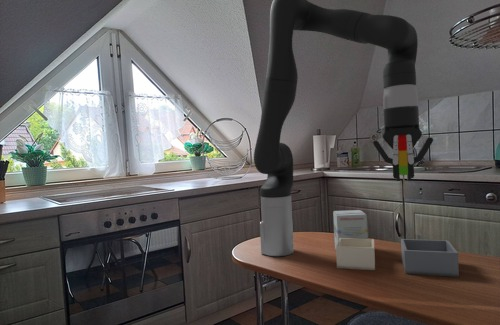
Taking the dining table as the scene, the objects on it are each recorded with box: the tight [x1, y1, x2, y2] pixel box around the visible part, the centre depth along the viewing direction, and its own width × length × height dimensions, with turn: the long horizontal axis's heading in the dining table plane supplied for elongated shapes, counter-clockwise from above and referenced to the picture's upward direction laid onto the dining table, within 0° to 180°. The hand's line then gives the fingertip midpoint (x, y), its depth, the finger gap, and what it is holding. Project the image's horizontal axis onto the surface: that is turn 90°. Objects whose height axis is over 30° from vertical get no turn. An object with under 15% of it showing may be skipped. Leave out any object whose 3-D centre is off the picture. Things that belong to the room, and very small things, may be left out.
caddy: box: [400, 238, 460, 278], centre depth 88 cm, size 11×11×6 cm
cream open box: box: [335, 238, 376, 271], centre depth 93 cm, size 9×9×6 cm
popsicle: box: [398, 135, 408, 199], centre depth 83 cm, size 6×2×15 cm, turn 159°
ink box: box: [332, 209, 369, 250], centre depth 104 cm, size 9×9×12 cm
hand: (403, 180), depth 83 cm, fingers closed on popsicle, 2 cm apart
